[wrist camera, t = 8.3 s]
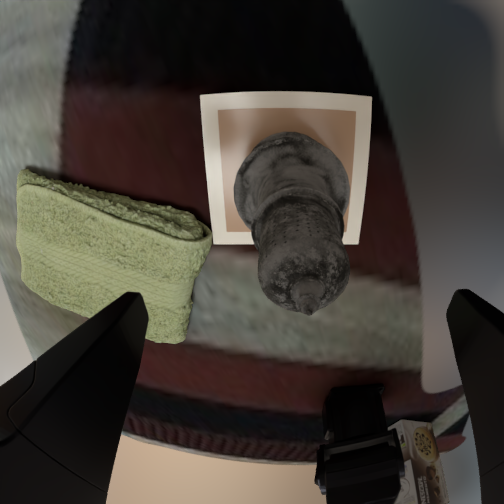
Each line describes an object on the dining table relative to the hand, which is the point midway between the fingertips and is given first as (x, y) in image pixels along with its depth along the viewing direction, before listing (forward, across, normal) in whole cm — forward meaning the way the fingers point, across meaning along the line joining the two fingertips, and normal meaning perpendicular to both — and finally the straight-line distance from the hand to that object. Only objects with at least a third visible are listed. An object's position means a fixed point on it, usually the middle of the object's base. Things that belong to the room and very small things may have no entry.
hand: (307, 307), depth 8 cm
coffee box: (+13, -21, +40) cm, 47 cm away
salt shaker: (+12, 0, 0) cm, 12 cm away
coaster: (+13, 0, 0) cm, 13 cm away
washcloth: (+13, +15, +7) cm, 21 cm away
